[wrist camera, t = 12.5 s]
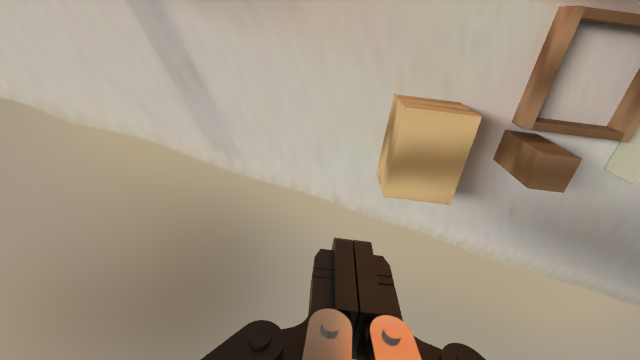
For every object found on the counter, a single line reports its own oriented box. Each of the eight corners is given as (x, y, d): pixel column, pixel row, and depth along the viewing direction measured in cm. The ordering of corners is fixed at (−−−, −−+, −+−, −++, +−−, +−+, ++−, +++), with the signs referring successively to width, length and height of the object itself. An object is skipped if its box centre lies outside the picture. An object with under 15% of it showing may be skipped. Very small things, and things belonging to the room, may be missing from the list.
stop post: (505, 129, 29) (544, 154, 24) (536, 134, 29) (582, 158, 24) (493, 159, 30) (527, 188, 25) (523, 162, 31) (563, 192, 25)
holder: (559, 7, 24) (576, 5, 23) (674, 22, 25) (700, 22, 23) (511, 122, 29) (523, 128, 27) (610, 134, 29) (628, 142, 27)
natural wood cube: (393, 93, 28) (405, 107, 24) (458, 102, 28) (482, 116, 24) (376, 172, 32) (383, 196, 27) (433, 179, 32) (450, 205, 27)
